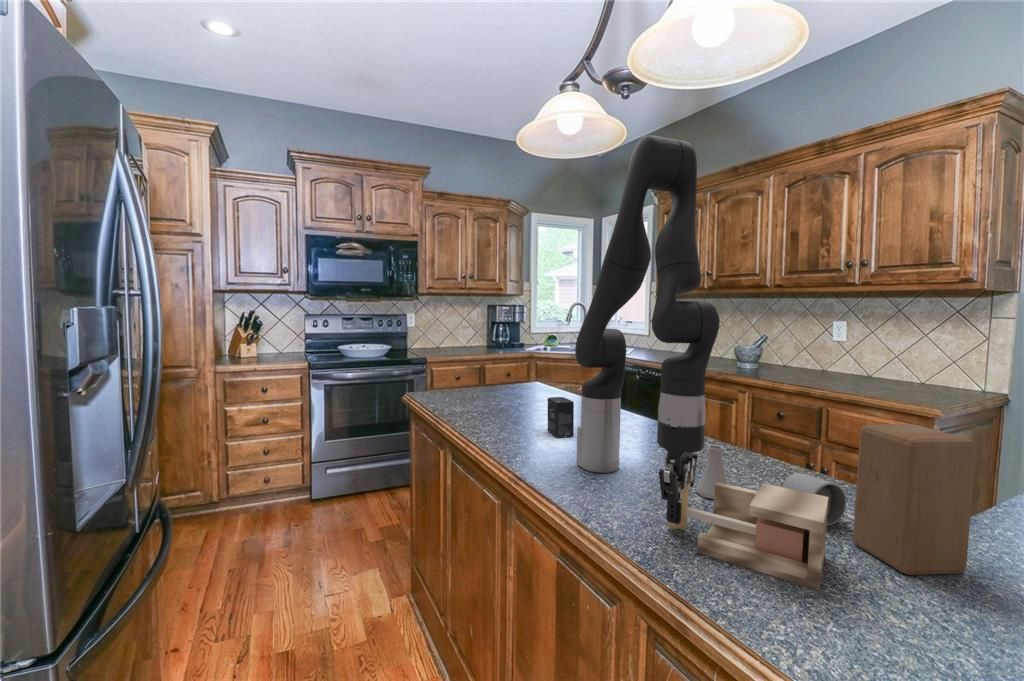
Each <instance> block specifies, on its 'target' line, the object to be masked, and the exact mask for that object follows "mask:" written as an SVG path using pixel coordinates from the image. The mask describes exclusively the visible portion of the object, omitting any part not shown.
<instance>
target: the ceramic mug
mask: <svg viewBox="0 0 1024 681" xmlns="http://www.w3.org/2000/svg"><path fill="white" fill-rule="evenodd" d="M780 487H783V488H788V489H793V490H797V491H802V492H807V493H812V494H816V495H821V496H826V497H828V514H827V527H829V526H833V525H835V524H836V523H838V522H839V521H840V520H841V519H842V517H843V516H844V514H845V511H846V507H847V497H846V494H845V492H844V490H843V489H842V487H841V486H840V485H839V484H836V483H835V482H832V481H827V480H825V479H822V478H818V477H815V476H812V475H809V474H806V473H799V472H798V473H792V474H789V475H788V476H786V477H785V479H784V480H783V482H782V483H781V486H780Z"/></svg>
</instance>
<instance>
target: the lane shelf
mask: <svg viewBox="0 0 1024 681" xmlns="http://www.w3.org/2000/svg"><path fill="white" fill-rule="evenodd" d="M713 500H714V501H713V514H717V515H721V516H725V517H729V518H732V519H736V520H740V521H744V522H748V523H752V524H755V525H756V522H757V520H758V518H763V519H767V520H771V521H775V522H779V523H783V524H787V525H791V526H795V527H799V528H803V529H807V533H806V550H805V555H804V559H803V563H802V562H799V561H795V560H792V559H788V558H785V557H781V556H778V555H774V554H771V553H767V552H764V551H760V550H757V549H755V538H756V535H753V534H749V533H745V532H742V531H738V530H734V529H731V528H727V527H723V526H720V525H716V524H712V525H711V526H710V528H709V530H708V531H707V532H706V533H699V535H698V536H697V546H696V547H697V550H696V552H697V553H698V554H701V555H705V556H707V557H710V558H714V559H717V560H721V561H724V562H727V563H730V564H733V565H736V566H740V567H742V568H745V569H750V570H753V571H755V572H758V573H762V574H765V575H769V576H772V577H775V578H777V579H781V580H784V581H788V582H790V583H794V584H798V585H800V586H804V587H806V588H810V589H813V590H817V591H820V590H821V582H822V576H823V573H824V572H823V570H824V564H825V558H826V545H827V544H826V543H827V530H828V529H827V528H828V526H827V514H828V497H826V496H821V495H816V494H812V493H807V492H802V491H797V490H793V489H788V488H783V487H781V486H778V485H774V484H773V485H772V484H769V483H762V484H761V486H760V487H759V489H758V490H754V489H749V488H744V487H741V486H737V485H731V484H729V485H728V484H723V483H719V482H717V483H716V484H715V494H714V499H713Z"/></svg>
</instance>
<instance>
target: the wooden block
mask: <svg viewBox="0 0 1024 681" xmlns="http://www.w3.org/2000/svg"><path fill="white" fill-rule="evenodd" d="M976 455H977V443H976V442H975V441H974V440H972V439H970V438H967V437H964V436H960V435H957V434H953V433H949V432H945V431H942V430H937V429H935V428H930V427H925V426H922V425H918V424H916V423H915V424H913V423H912V424H906V423H905V424H865V425H863V426H861V427H860V430H859V441H858V454H857V473H856V484H855V485H856V486H855V502H854V518H853V533H852V540H853V542H854V543H855V545H856V546H858V547H859V548H861V549H862V550H865V552H867V553H869V554H871V555H873V556H874V557H875V558H877V559H879V560H881V561H882V562H884V563H886V564H887V565H889V566H890V567H892V568H894V569H895V570H897V571H899V572H900V573H902V574H904V575H908V576H914V575H915V576H916V575H917V576H918V575H939V574H940V575H943V574H962V573H964V572H965V570H966V569H967V562H968V550H969V539H970V537H969V536H970V526H971V513H972V501H973V491H974V478H975V466H976Z"/></svg>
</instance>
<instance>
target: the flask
mask: <svg viewBox="0 0 1024 681" xmlns="http://www.w3.org/2000/svg"><path fill="white" fill-rule="evenodd" d="M706 448H707V450H708V456H707V460H706V465H705V467H704V469H703V472H702V475H701V477H700V480H699V482H698V484H697V486H696V489H694V490H695V493H697V494H698V495H699V496H701V497H702V498H708V499H712V500H714V494H715V484H716V483H717V482H719V483H723V484H728V485H730V484H729V480H728V477H727V474H726V470H725V467H724V461H723V451H724V450H725V447H723V446H722V445H718V444H708V445H707V447H706Z"/></svg>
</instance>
